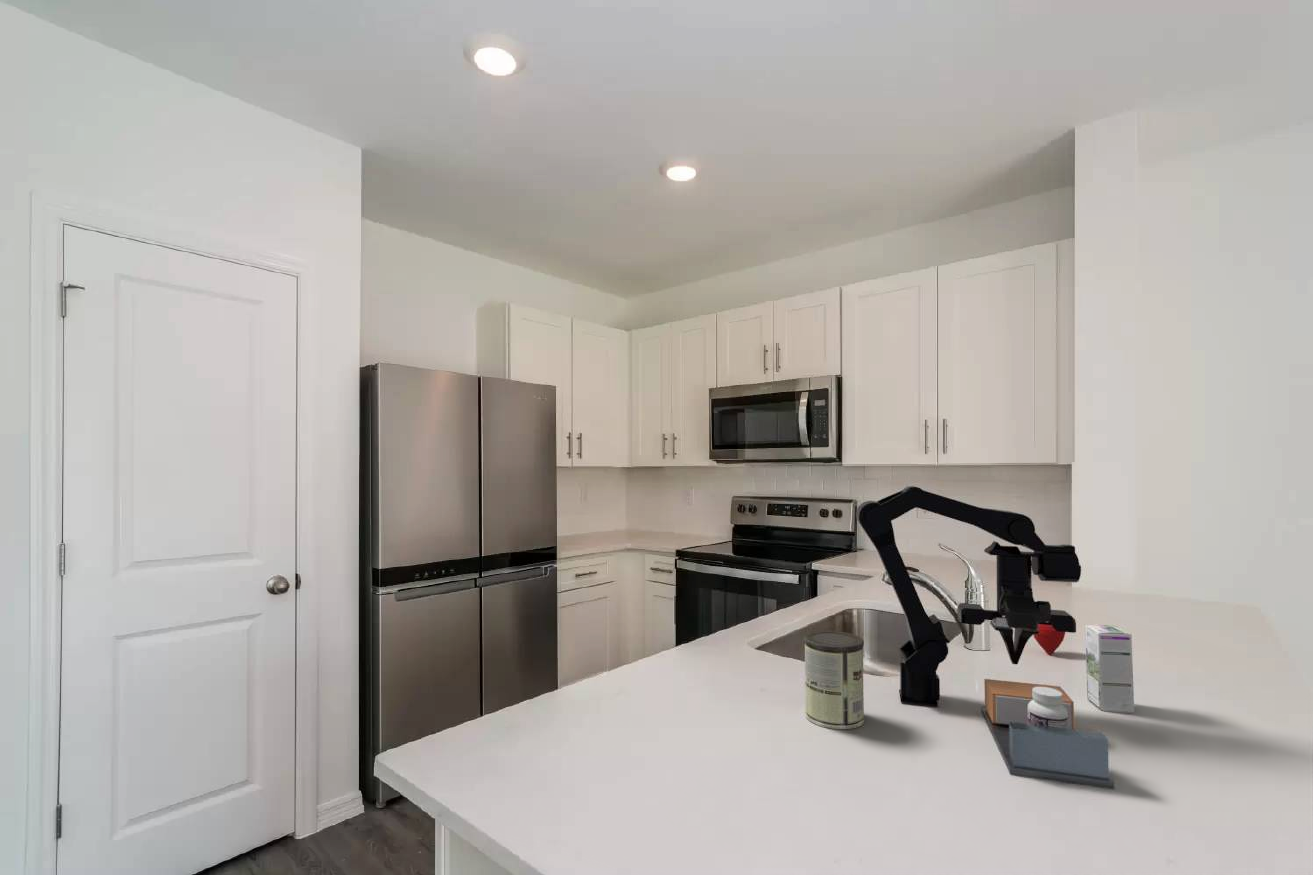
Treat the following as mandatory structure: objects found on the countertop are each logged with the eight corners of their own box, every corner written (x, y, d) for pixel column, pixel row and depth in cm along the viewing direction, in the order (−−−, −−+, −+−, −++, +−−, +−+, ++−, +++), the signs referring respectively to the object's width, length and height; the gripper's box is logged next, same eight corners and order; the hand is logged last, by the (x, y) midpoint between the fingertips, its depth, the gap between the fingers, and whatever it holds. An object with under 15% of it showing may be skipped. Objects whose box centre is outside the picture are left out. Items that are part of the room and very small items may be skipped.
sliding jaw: (984, 706, 116) (984, 678, 116) (1060, 715, 112) (1060, 686, 112) (993, 724, 108) (993, 694, 108) (1075, 733, 104) (1074, 702, 104)
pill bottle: (1019, 747, 100) (1019, 684, 100) (1051, 745, 100) (1050, 684, 101) (1043, 763, 95) (1042, 697, 95) (1077, 762, 95) (1076, 696, 95)
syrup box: (1135, 713, 116) (1134, 633, 116) (1099, 711, 117) (1098, 631, 118) (1119, 702, 122) (1118, 625, 122) (1085, 699, 123) (1084, 623, 123)
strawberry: (1025, 651, 153) (1025, 609, 154) (1051, 649, 155) (1050, 608, 155) (1046, 659, 148) (1045, 615, 148) (1072, 656, 149) (1071, 613, 150)
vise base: (981, 712, 116) (980, 676, 116) (1063, 721, 112) (1062, 684, 112) (1010, 774, 93) (1009, 729, 94) (1114, 789, 89) (1113, 742, 90)
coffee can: (810, 702, 120) (810, 627, 121) (867, 712, 116) (867, 634, 116) (798, 723, 111) (798, 641, 112) (860, 734, 107) (859, 649, 107)
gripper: (965, 583, 114) (966, 671, 114) (1085, 591, 109) (1086, 684, 108) (956, 573, 125) (957, 653, 125) (1066, 579, 119) (1066, 664, 119)
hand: (1014, 663), depth 119 cm, fingers closed
